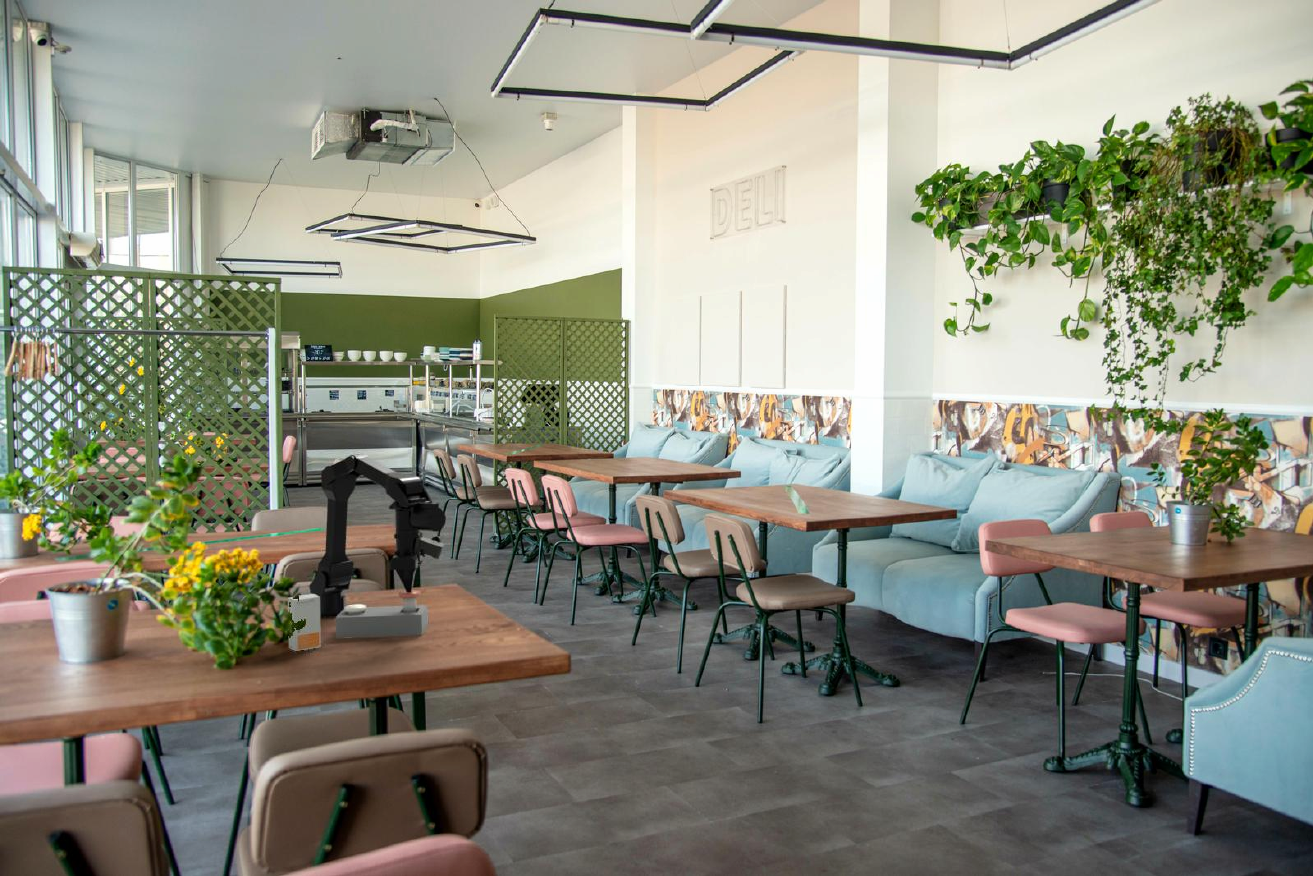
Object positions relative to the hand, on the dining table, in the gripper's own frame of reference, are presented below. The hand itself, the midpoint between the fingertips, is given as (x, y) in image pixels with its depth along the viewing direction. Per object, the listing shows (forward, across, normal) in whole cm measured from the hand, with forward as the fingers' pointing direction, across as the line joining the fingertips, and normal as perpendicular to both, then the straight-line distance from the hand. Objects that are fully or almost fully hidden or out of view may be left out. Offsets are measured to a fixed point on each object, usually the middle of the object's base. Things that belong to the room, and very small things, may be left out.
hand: (409, 592), depth 232 cm
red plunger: (+5, 0, 0) cm, 5 cm away
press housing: (+10, 0, +6) cm, 11 cm away
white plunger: (+8, 0, +13) cm, 15 cm away
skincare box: (+10, -13, +21) cm, 27 cm away
